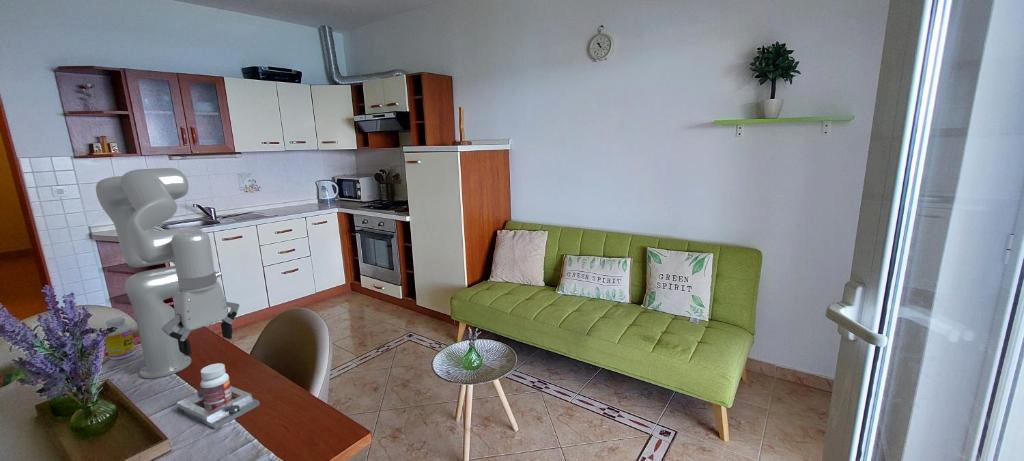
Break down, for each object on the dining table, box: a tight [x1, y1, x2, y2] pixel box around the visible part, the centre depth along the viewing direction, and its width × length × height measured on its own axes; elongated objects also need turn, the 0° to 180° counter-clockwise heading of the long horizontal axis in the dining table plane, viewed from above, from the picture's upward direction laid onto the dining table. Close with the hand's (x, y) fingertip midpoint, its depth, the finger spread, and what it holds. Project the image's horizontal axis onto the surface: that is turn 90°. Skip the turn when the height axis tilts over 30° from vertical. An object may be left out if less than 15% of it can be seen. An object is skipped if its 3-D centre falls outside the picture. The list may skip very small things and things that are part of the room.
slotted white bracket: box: [176, 385, 260, 430], centre depth 112 cm, size 17×11×3 cm, turn 62°
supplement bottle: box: [105, 316, 136, 361], centre depth 142 cm, size 7×7×13 cm
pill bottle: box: [200, 362, 233, 411], centre depth 111 cm, size 6×6×11 cm
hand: (207, 345), depth 109 cm, fingers open, 9 cm apart
